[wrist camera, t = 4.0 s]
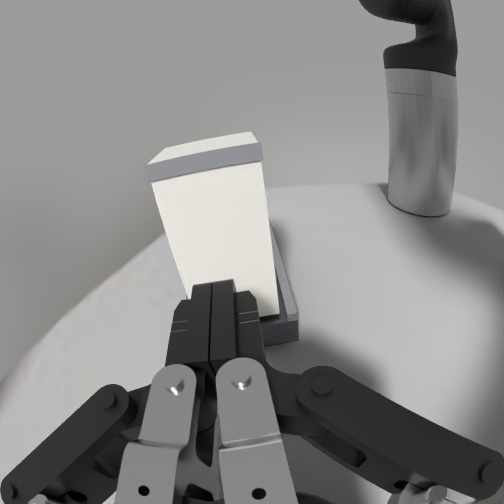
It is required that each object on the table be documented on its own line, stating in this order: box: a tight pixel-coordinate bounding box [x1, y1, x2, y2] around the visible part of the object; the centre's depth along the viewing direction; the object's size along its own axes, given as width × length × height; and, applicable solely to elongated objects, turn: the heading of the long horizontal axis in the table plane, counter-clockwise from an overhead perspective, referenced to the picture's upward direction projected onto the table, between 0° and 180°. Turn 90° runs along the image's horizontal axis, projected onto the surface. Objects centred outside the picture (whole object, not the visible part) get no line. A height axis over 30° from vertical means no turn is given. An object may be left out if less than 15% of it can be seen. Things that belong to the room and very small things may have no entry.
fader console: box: [186, 217, 299, 346], centre depth 23 cm, size 14×7×3 cm, turn 4°
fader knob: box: [144, 131, 280, 317], centre depth 16 cm, size 4×5×10 cm
